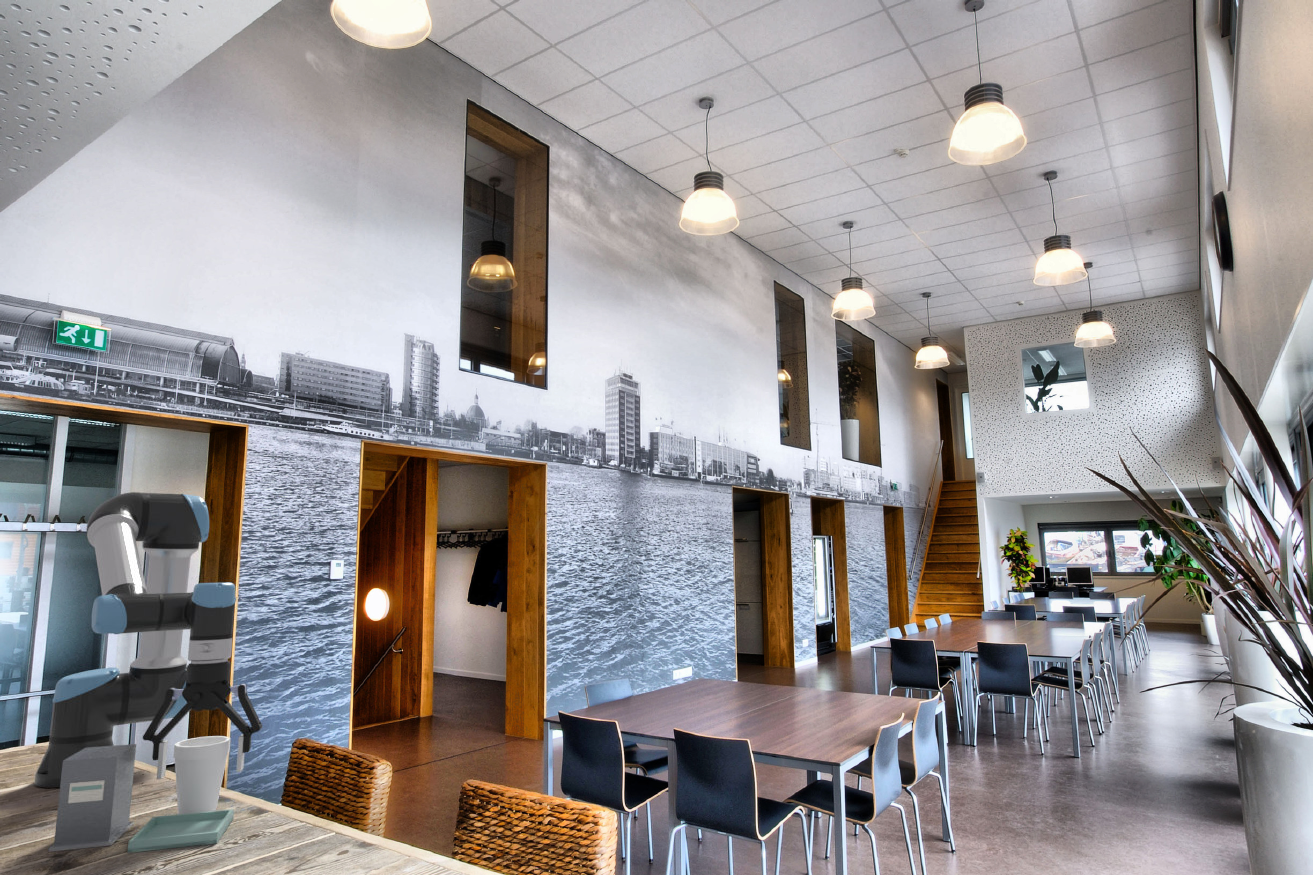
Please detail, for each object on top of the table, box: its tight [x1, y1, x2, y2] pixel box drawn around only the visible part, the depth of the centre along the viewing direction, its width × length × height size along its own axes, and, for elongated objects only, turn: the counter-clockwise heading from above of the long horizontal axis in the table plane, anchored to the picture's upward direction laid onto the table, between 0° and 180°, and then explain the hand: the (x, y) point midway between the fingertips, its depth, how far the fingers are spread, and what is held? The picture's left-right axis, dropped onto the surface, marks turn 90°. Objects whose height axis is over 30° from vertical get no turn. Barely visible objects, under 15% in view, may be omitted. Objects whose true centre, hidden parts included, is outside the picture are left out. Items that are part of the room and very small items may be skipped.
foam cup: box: [173, 735, 231, 815], centre depth 150 cm, size 10×9×13 cm
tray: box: [127, 808, 235, 854], centre depth 136 cm, size 13×13×2 cm
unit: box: [48, 743, 137, 853], centre depth 136 cm, size 11×9×14 cm
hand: (200, 774), depth 150 cm, fingers open, 13 cm apart
